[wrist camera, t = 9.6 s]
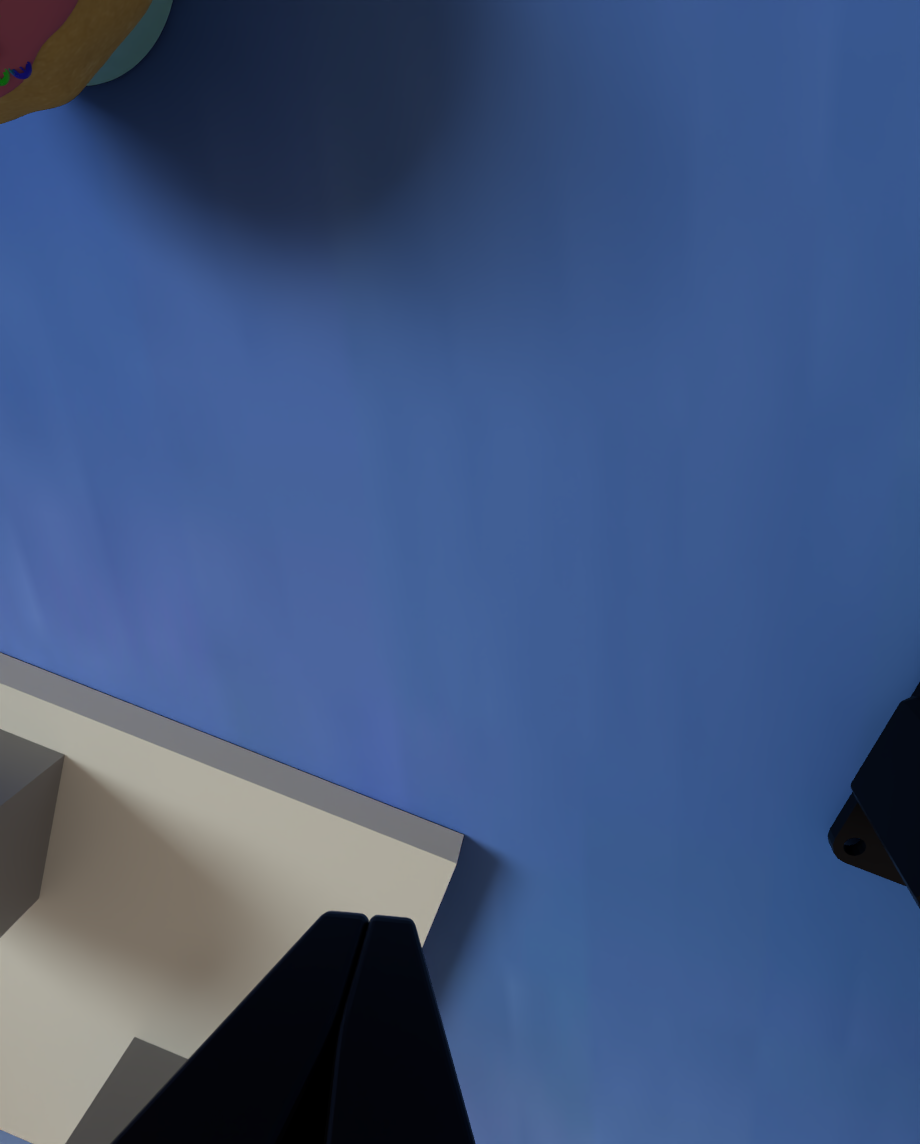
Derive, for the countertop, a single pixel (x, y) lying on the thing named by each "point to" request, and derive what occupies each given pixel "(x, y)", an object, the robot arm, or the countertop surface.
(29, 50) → the cupcake
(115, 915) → the grey button stand
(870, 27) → the countertop surface
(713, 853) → the countertop surface
